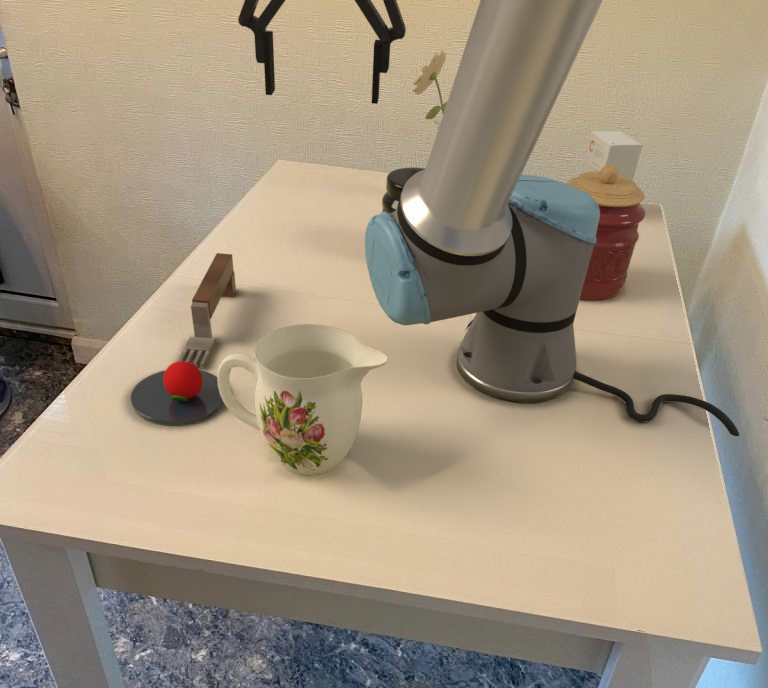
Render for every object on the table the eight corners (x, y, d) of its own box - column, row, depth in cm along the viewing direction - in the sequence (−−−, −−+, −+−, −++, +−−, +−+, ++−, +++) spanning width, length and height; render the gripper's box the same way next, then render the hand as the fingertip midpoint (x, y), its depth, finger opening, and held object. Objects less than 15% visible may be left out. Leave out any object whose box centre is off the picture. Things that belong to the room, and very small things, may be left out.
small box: (622, 220, 136) (643, 144, 127) (591, 221, 135) (610, 145, 126) (603, 203, 142) (622, 130, 133) (573, 204, 140) (590, 130, 131)
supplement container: (440, 272, 116) (449, 194, 107) (374, 263, 116) (378, 185, 108) (446, 245, 123) (455, 170, 115) (384, 237, 124) (389, 162, 116)
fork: (216, 289, 107) (213, 252, 103) (238, 291, 107) (235, 254, 103) (178, 367, 92) (172, 327, 88) (204, 369, 92) (199, 329, 88)
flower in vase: (439, 188, 142) (455, 37, 125) (481, 208, 136) (504, 52, 119) (388, 201, 136) (397, 44, 119) (429, 223, 130) (445, 60, 113)
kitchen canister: (536, 293, 112) (562, 173, 100) (543, 259, 121) (567, 144, 109) (622, 307, 110) (659, 186, 98) (623, 271, 120) (657, 156, 107)
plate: (246, 393, 88) (245, 389, 88) (179, 437, 82) (179, 433, 81) (179, 362, 93) (178, 358, 92) (111, 402, 86) (110, 397, 85)
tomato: (213, 366, 85) (206, 403, 85) (191, 369, 88) (185, 405, 88) (180, 354, 82) (174, 393, 81) (159, 357, 85) (152, 395, 84)
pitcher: (244, 410, 86) (234, 301, 77) (393, 441, 83) (401, 332, 74) (203, 467, 78) (187, 354, 69) (366, 503, 75) (372, 390, 66)
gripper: (436, -113, 83) (419, 96, 98) (217, -130, 83) (232, 81, 98) (435, -109, 78) (418, 112, 92) (201, -127, 78) (220, 96, 92)
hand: (322, 96), depth 95 cm, fingers open, 13 cm apart
